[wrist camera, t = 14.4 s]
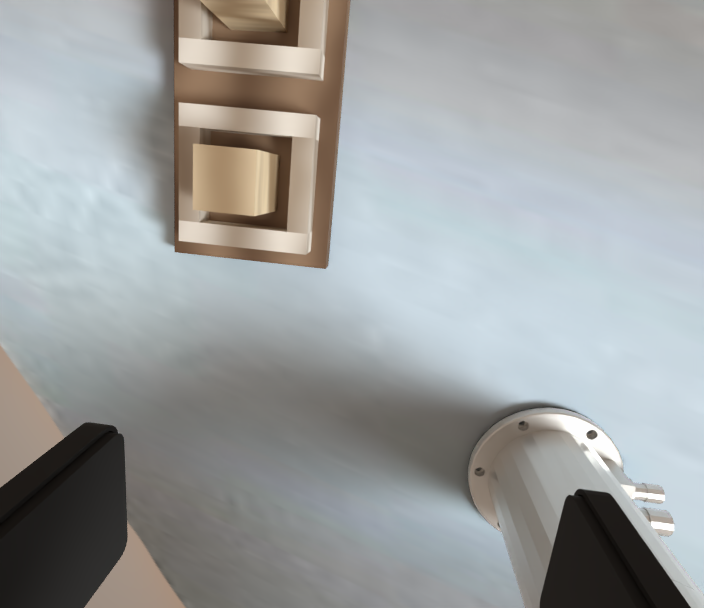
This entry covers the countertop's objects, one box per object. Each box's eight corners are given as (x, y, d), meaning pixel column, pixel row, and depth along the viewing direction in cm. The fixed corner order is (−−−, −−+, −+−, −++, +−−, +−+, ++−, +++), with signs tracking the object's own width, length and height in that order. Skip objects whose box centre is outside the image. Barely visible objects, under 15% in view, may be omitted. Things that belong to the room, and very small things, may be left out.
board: (357, -88, 31) (346, -170, 24) (328, 265, 37) (312, 285, 30) (183, -99, 32) (121, -182, 24) (182, 249, 38) (133, 264, 31)
